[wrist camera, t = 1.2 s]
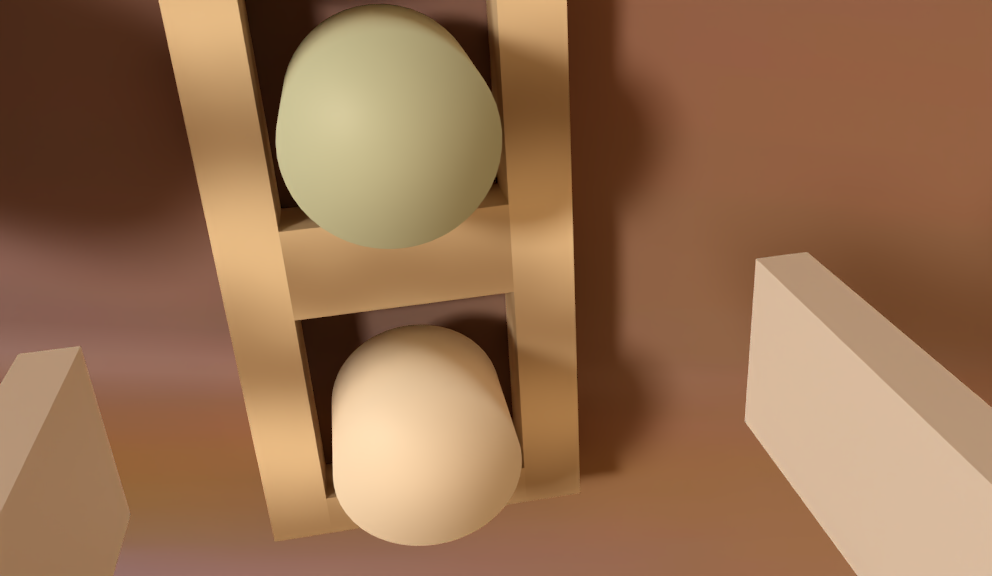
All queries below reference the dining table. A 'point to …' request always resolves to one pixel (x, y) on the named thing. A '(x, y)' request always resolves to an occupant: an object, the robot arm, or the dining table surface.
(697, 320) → the dining table surface
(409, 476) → the cream button
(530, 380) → the wooden ladder frame
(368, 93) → the olive rounded lump
